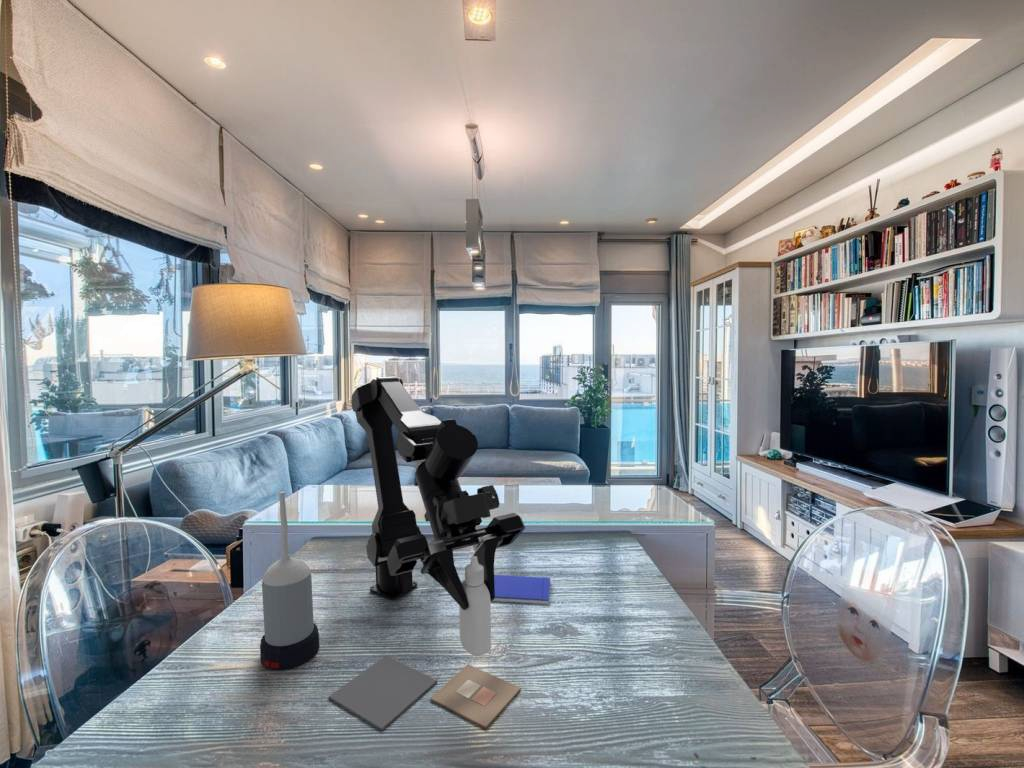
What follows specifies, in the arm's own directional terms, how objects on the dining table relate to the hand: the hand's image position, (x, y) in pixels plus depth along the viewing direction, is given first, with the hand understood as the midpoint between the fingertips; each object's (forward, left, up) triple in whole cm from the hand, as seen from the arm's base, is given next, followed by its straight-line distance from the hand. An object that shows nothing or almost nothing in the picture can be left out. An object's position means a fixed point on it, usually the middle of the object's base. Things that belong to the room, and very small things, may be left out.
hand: (479, 604), depth 64 cm
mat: (-12, -5, -13) cm, 19 cm away
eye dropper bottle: (-1, +1, -6) cm, 7 cm away
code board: (-1, 0, -13) cm, 13 cm away
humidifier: (-30, -7, -13) cm, 34 cm away
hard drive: (-11, +26, -14) cm, 32 cm away
